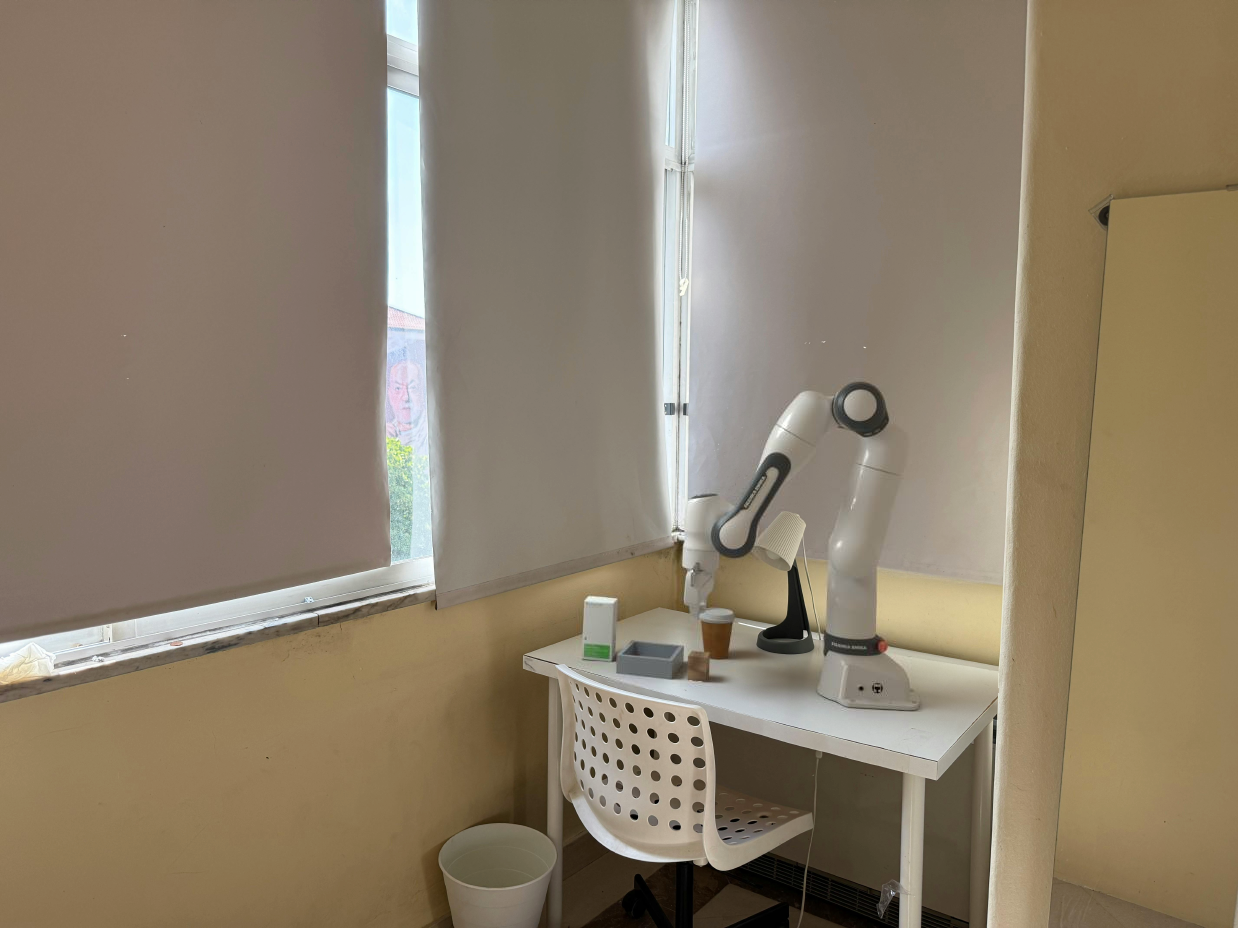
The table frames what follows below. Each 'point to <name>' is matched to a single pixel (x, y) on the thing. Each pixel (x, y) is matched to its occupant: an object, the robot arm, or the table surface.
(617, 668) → the tray
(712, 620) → the disposable coffee cup
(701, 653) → the walnut block
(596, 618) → the skincare box
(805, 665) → the table surface
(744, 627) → the table surface
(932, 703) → the table surface
